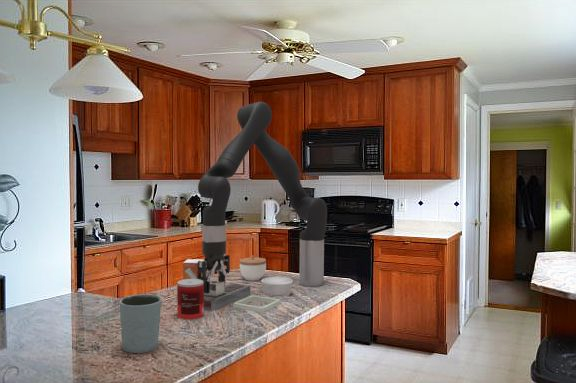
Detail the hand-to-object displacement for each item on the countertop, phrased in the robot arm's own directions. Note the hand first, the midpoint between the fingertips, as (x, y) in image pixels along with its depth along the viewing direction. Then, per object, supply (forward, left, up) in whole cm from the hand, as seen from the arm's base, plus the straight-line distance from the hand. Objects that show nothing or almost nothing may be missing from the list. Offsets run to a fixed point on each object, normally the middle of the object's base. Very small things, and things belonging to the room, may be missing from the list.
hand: (214, 290), depth 157 cm
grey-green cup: (+37, +5, -6) cm, 38 cm away
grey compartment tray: (-4, 0, -5) cm, 7 cm away
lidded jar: (-39, -10, -6) cm, 41 cm away
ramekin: (-23, +10, -6) cm, 26 cm away
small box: (-5, -11, -6) cm, 13 cm away
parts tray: (-5, +13, -5) cm, 15 cm away
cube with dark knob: (0, 0, -4) cm, 4 cm away
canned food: (+13, +1, -6) cm, 14 cm away
